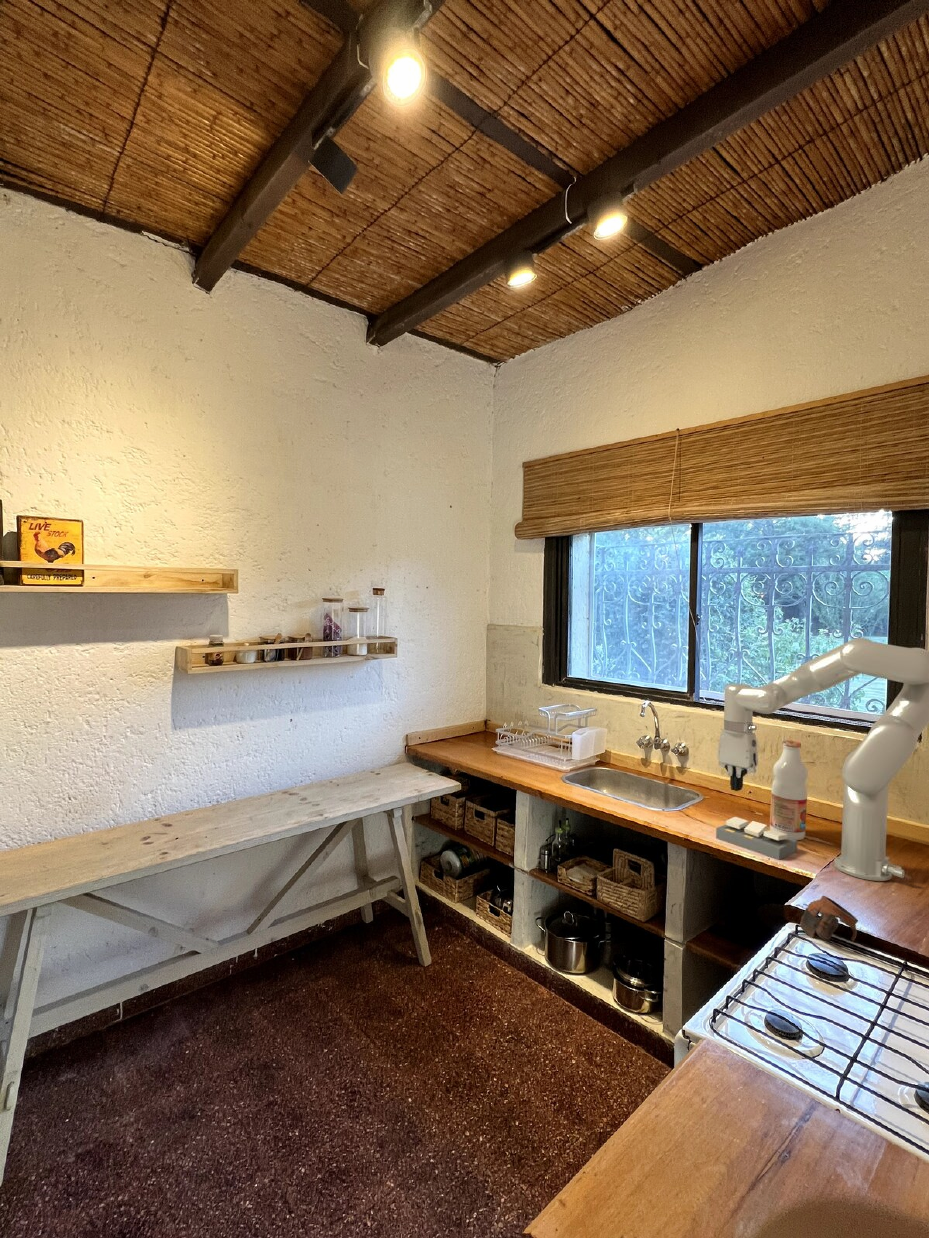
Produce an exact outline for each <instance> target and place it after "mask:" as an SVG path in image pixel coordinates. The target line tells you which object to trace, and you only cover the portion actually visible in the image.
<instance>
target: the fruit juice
mask: <svg viewBox="0 0 929 1238" xmlns="http://www.w3.org/2000/svg"><path fill="white" fill-rule="evenodd" d="M781 744H782V752H781V755H780V757H779V759H778V760H777V761H776V762H775V763H774V765H773V766H772V767H773V768H772V774H773V777H774V780H773V782H772V783H771V791H770V792H771V794H770V810H769V811H770V812H769V813H770V815H769V830H775V831H778V832H781V833H784V834H787V838H790V839H794V840H797V841H801V840H804V839H805V837H806V825H807V824H806V823H807V820H806V819H807V809H808V808H807V807H808V806H807V805H808V788H807V785H806V784H807V783H806V782H807V779H808V777H809V775H808V774H809V773H808V769H807V767H806V766H805V764H804V762H803V760H802V757H801V753H800V752H801V751H800V750H801V748H802V743H801V742H799V741H796V740H787V739H786V740H783V741H782V742H781Z"/></svg>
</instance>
